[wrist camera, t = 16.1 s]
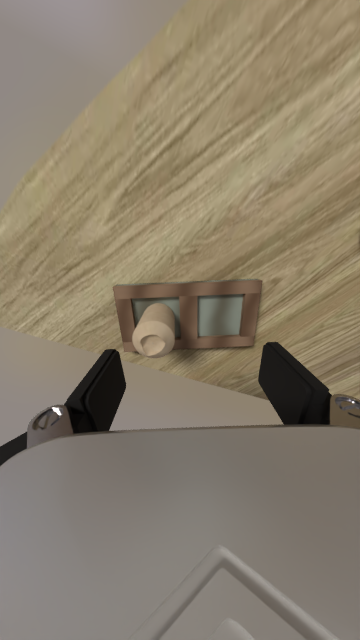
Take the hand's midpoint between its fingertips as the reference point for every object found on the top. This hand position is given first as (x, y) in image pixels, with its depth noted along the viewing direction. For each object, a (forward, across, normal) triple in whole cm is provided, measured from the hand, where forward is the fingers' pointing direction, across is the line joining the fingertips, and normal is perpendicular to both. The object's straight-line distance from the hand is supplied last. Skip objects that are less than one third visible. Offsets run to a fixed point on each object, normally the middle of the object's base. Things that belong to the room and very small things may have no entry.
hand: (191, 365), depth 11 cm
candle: (+19, +5, +4) cm, 20 cm away
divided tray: (+20, 0, +4) cm, 20 cm away
